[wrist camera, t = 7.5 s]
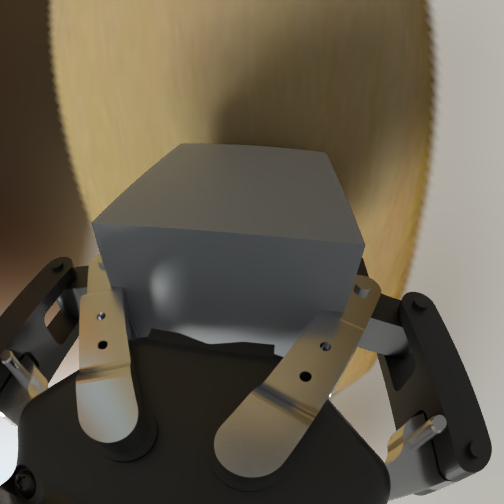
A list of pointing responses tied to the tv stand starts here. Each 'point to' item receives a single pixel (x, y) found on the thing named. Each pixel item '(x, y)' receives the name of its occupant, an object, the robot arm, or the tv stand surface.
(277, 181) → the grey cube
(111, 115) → the tv stand surface
